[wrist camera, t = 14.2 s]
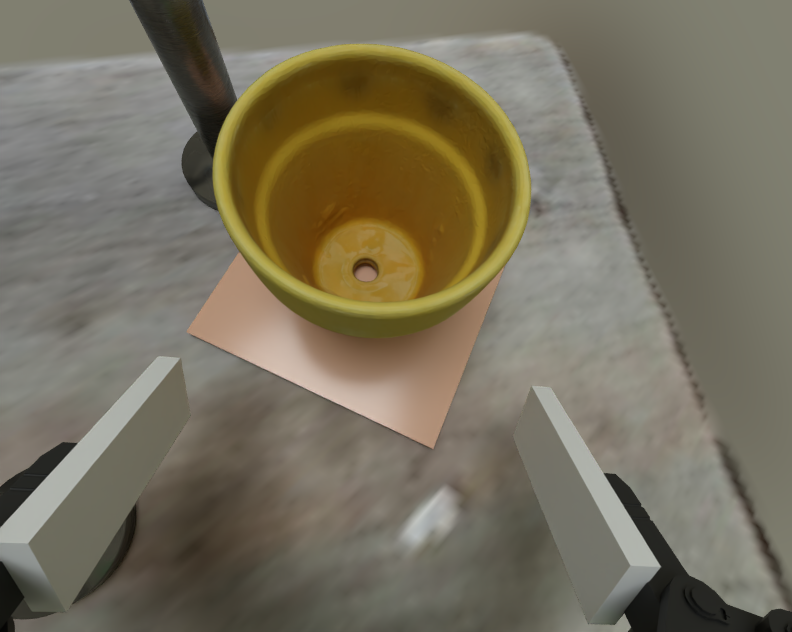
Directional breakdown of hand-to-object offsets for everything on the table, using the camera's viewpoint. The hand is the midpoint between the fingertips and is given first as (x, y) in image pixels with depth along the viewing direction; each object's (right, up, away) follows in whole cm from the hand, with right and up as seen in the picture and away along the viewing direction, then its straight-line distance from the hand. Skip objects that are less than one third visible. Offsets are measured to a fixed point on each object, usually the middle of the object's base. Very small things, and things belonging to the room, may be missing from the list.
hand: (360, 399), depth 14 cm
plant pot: (0, +5, +7) cm, 9 cm away
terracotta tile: (0, +5, +7) cm, 9 cm away
